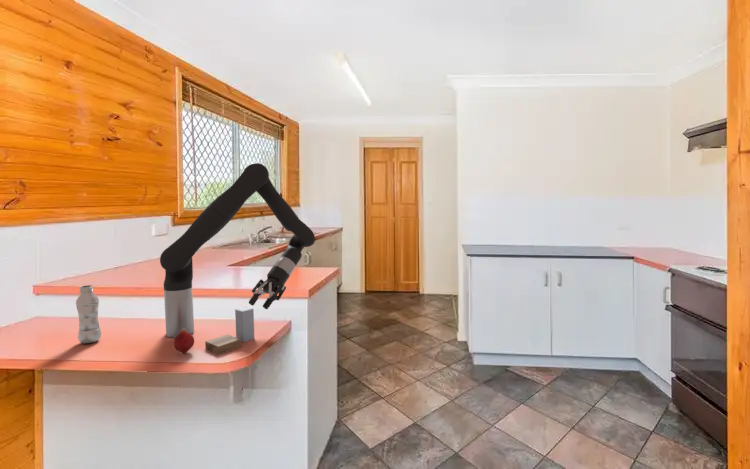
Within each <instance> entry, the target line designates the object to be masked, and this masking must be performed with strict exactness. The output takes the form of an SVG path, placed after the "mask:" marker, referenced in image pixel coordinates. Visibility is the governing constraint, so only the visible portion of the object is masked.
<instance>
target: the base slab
mask: <svg viewBox="0 0 750 469" xmlns="http://www.w3.org/2000/svg"><path fill="white" fill-rule="evenodd" d="M204 346H205V350H208V351H209V352H211V353H213V354H216V355H221V354H225V353H227V351H228V352H230V351H233V350H236V349H239V348H241V347H242V342H241V339H239V338H236V336H233V335H230V334H228V333H227V334H225V335H222V336H221V335H220V336H218V337H214V338H211V339H208V340H205V345H204ZM238 347H239V348H238ZM232 349H233V350H232Z"/></svg>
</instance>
